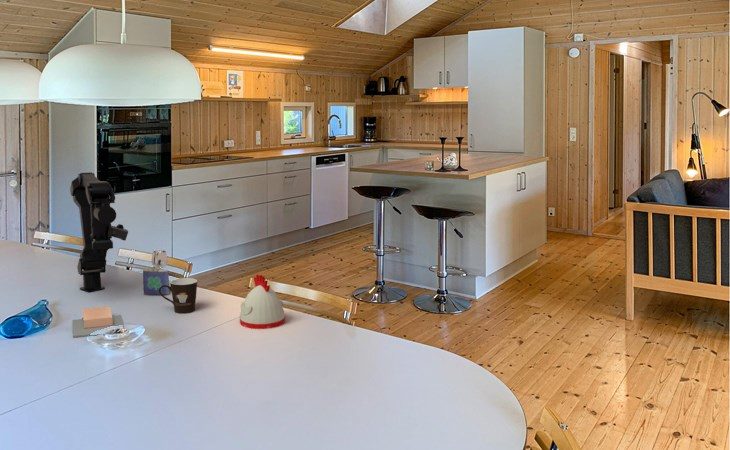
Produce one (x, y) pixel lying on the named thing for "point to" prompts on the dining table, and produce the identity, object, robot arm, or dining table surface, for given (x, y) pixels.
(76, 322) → the mat
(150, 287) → the flask
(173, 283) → the coffee mug
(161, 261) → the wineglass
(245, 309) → the kitchen timer
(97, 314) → the tile
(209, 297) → the dining table surface
